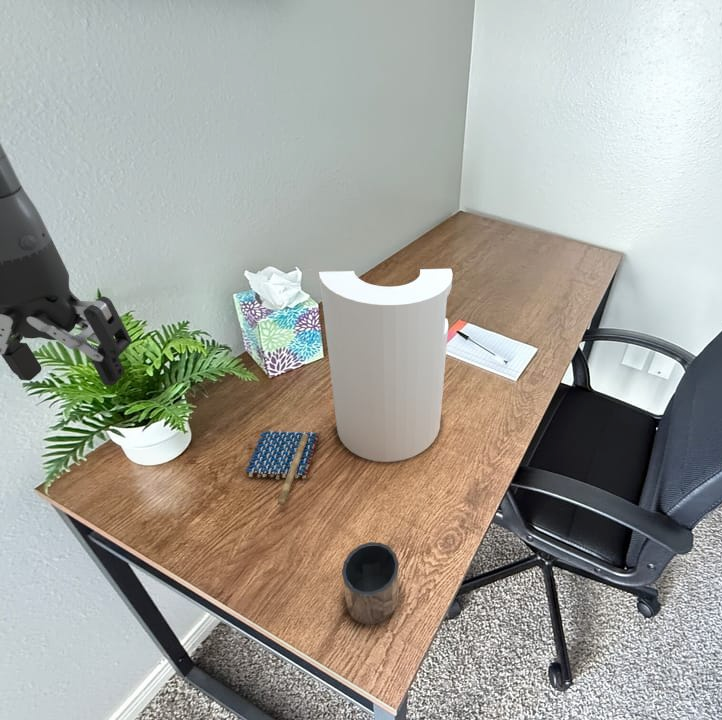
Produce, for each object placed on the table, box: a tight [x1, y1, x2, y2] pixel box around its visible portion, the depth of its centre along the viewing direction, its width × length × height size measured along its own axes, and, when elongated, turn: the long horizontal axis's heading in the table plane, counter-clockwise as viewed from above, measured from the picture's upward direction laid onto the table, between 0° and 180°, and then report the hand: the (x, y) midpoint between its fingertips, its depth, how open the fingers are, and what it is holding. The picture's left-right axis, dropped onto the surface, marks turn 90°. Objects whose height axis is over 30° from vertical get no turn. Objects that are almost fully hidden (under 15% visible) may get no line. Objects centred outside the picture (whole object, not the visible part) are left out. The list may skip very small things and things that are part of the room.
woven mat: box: [245, 430, 319, 481], centre depth 86 cm, size 10×11×2 cm
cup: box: [341, 541, 400, 626], centre depth 66 cm, size 7×7×9 cm
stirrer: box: [277, 434, 308, 506], centre depth 82 cm, size 9×1×13 cm
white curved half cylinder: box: [318, 268, 454, 463], centre depth 82 cm, size 35×11×21 cm
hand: (73, 378), depth 51 cm, fingers open, 8 cm apart
